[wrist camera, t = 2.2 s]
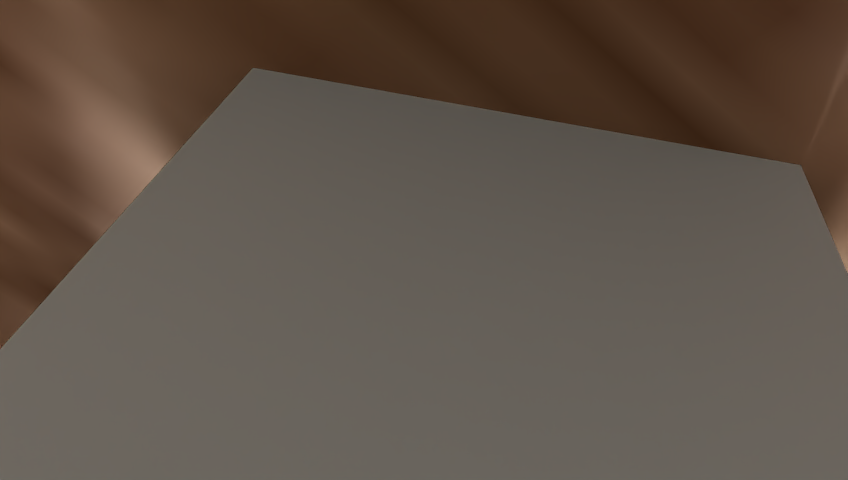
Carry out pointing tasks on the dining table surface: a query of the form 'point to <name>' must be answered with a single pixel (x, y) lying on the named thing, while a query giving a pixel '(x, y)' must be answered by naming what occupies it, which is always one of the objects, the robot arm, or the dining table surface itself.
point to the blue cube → (438, 307)
